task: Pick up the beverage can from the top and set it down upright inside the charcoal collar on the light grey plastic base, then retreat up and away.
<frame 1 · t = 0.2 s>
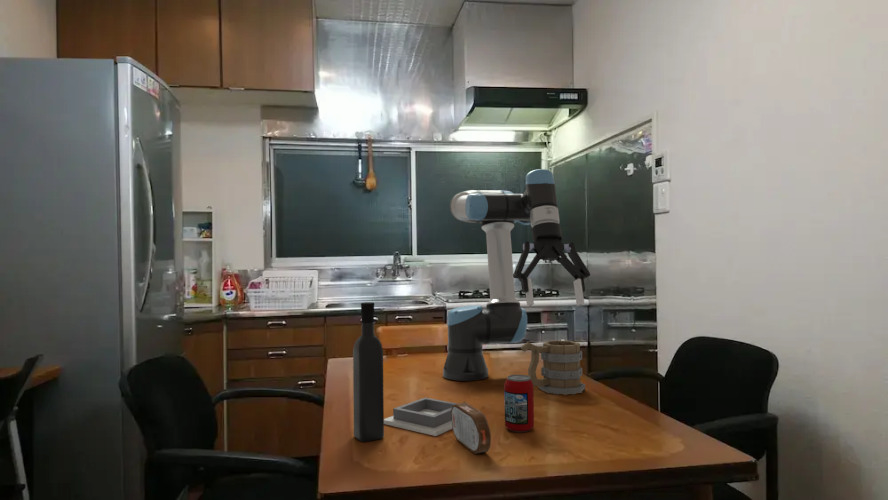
hand: (555, 305, 134), 28 cm above the table, tool tilted 20°, fingers open, 13 cm apart
tankard: (551, 391, 159), on the table
wine bottle: (368, 438, 119), on the table
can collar: (429, 421, 131), on the table
beverage can: (519, 429, 124), on the table
tin: (469, 447, 113), on the table
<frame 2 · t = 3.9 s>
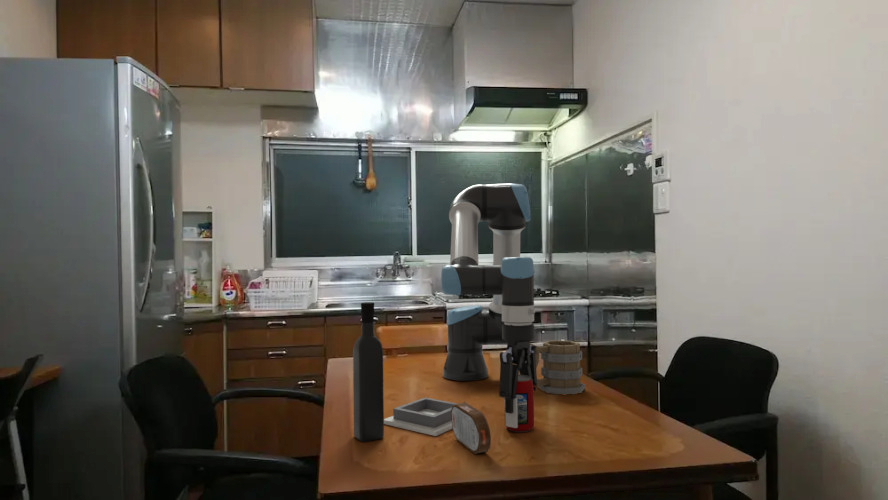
hand: (519, 422, 124), 2 cm above the table, tool pointing down, fingers closed on beverage can, 7 cm apart
beverage can: (519, 429, 124), on the table, touching gripper
everything else where it was.
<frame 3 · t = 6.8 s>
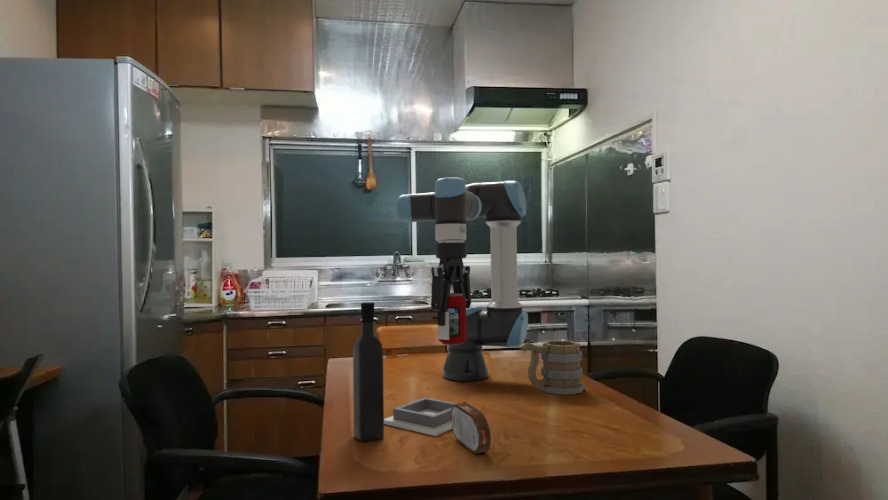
hand: (452, 336, 129), 21 cm above the table, tool pointing down, fingers closed on beverage can, 7 cm apart
beverage can: (452, 344, 129), point 19 cm above the table, touching gripper
everything else where it was.
when the fingers open (3 cm above the table, at t = 10.1 s): beverage can stays where it is, resting on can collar.
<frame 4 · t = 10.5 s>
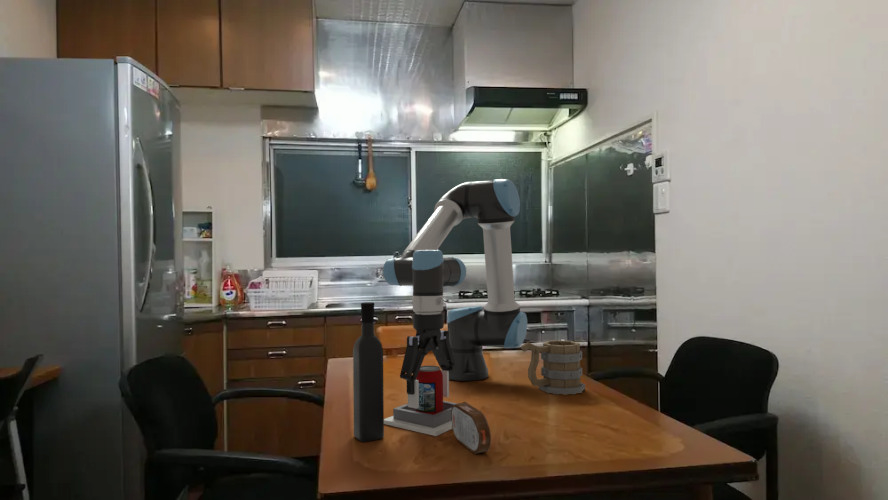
hand: (429, 401, 131), 5 cm above the table, tool pointing down, fingers open, 11 cm apart
beverage can: (429, 417, 131), point 1 cm above the table, touching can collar
everything else where it was.
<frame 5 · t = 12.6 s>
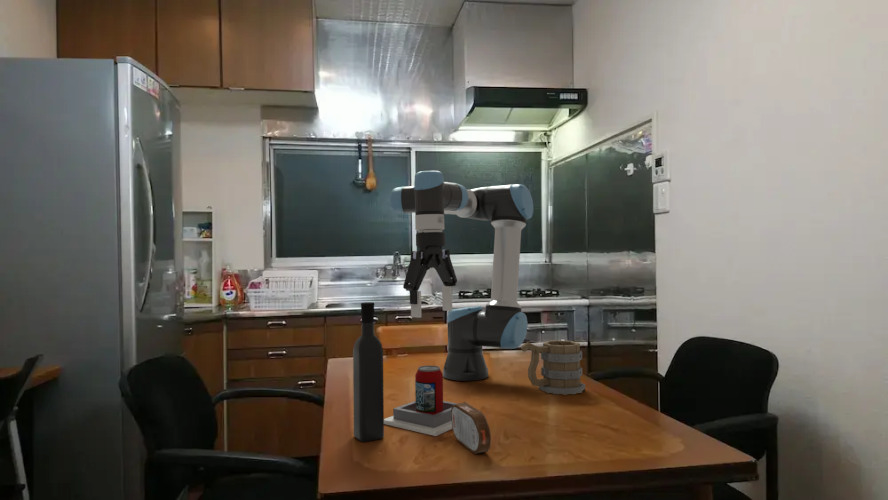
hand: (432, 313, 138), 25 cm above the table, tool pointing down, fingers open, 13 cm apart
nothing on the table moved.
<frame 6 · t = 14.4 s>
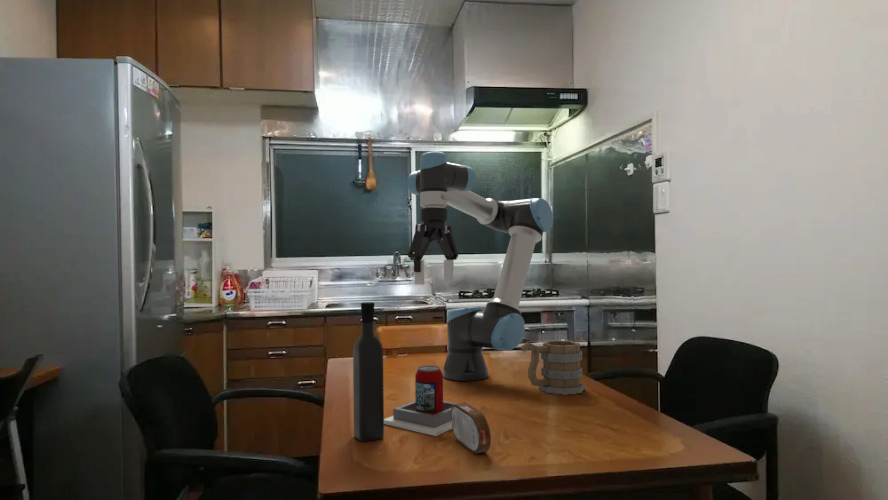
hand: (434, 283, 150), 33 cm above the table, tool pointing down, fingers open, 13 cm apart
nothing on the table moved.
at the end: beverage can 0.1 cm off-centre on the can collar, point 0.8 cm above the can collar's base; beverage can tilted 0°; the gripper is holding nothing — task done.
